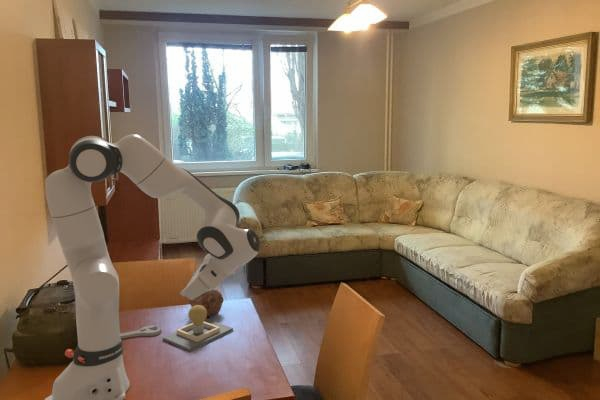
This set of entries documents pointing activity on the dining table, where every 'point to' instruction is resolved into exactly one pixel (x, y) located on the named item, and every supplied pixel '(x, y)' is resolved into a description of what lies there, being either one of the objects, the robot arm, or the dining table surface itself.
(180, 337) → the board
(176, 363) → the dining table surface
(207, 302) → the decorative rock
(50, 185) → the robot arm
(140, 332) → the adjustable wrench
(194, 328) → the light bulb
